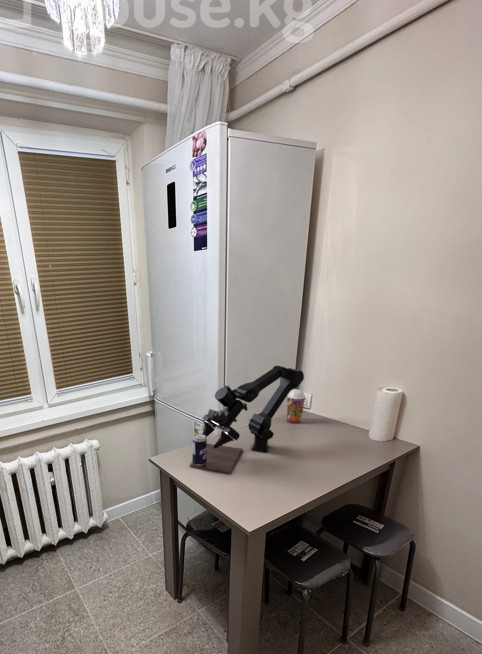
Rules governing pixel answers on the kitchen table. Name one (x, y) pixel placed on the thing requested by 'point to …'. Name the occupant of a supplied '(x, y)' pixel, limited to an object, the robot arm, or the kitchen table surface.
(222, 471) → the board
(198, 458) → the beverage can
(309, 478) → the kitchen table surface
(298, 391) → the smoothie
